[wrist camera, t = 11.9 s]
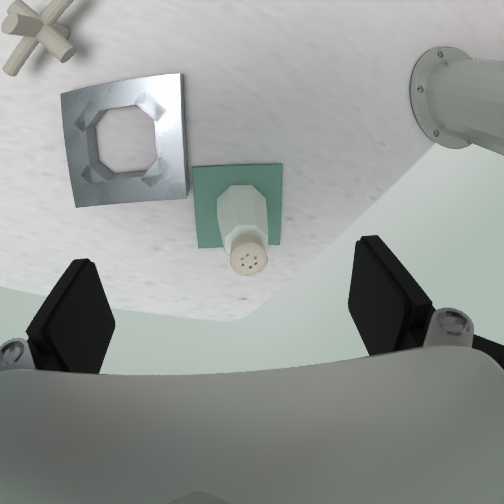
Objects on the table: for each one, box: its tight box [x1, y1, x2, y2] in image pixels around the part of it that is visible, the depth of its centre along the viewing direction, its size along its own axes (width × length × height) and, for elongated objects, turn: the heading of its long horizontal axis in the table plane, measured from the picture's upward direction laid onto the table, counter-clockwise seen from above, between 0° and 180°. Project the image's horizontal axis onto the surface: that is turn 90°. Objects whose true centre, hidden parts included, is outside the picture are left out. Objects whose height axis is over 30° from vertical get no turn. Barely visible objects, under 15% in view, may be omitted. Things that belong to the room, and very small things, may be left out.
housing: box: [60, 73, 189, 208], centre depth 28 cm, size 12×12×3 cm
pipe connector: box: [2, 0, 76, 76], centre depth 18 cm, size 10×10×10 cm
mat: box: [192, 164, 282, 248], centre depth 33 cm, size 9×9×1 cm
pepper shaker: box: [217, 185, 268, 276], centre depth 28 cm, size 5×5×11 cm
